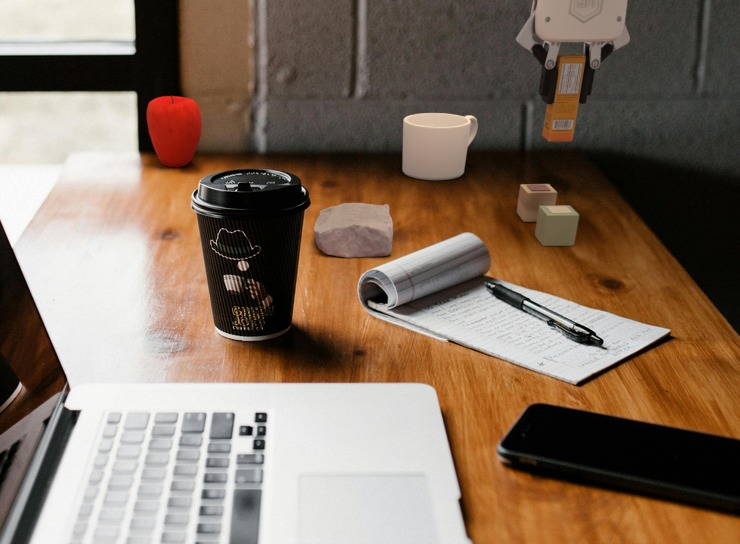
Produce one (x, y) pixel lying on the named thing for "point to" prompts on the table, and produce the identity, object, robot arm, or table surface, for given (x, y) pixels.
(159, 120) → the apple
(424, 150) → the mug
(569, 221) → the near letter block
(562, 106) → the supplement box
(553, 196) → the far letter block
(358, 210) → the stone block
